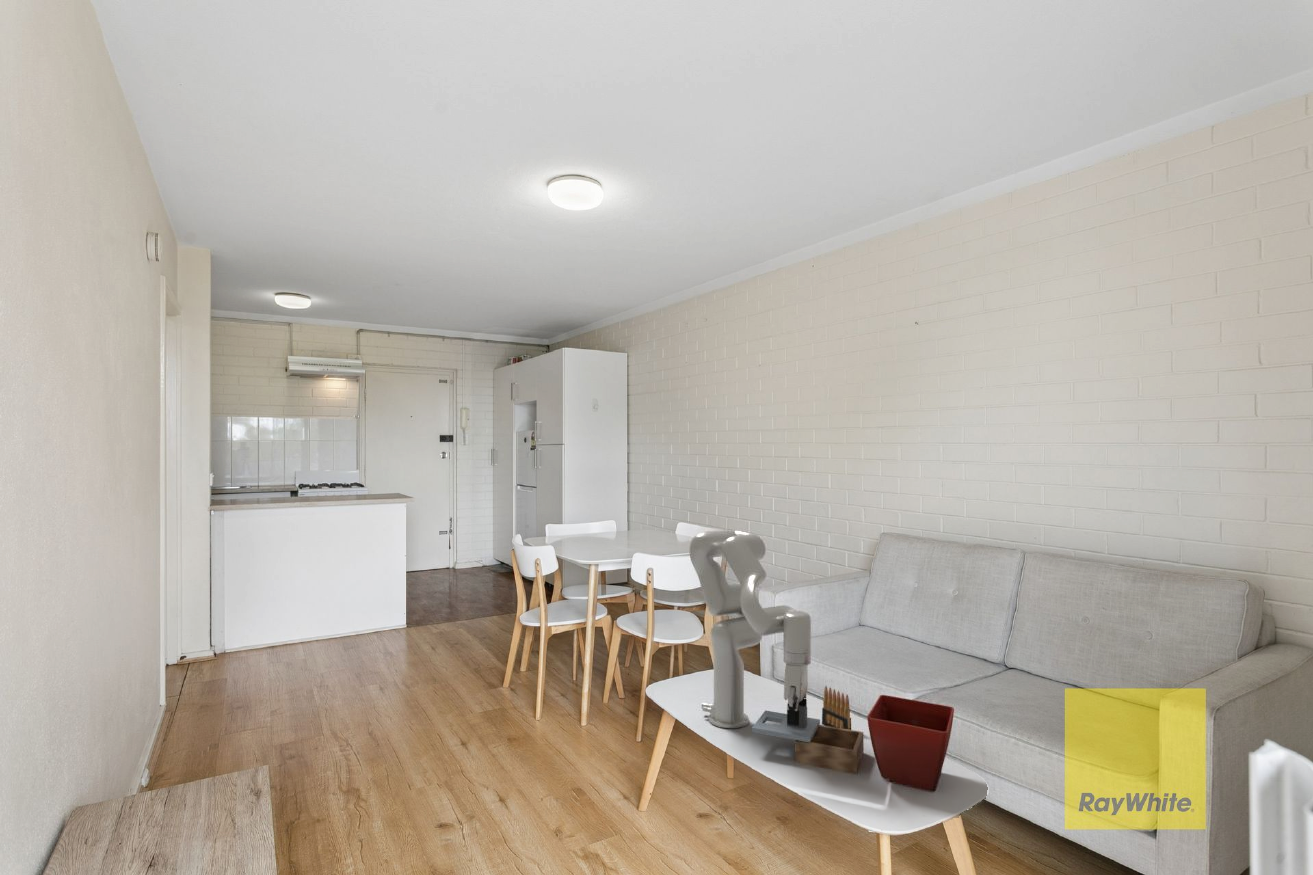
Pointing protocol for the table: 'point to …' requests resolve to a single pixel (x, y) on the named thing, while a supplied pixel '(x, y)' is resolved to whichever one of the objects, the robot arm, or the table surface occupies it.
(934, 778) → the plant pot
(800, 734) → the toolbox lid
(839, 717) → the ammunition clip
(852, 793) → the table surface
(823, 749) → the brown hollow box
